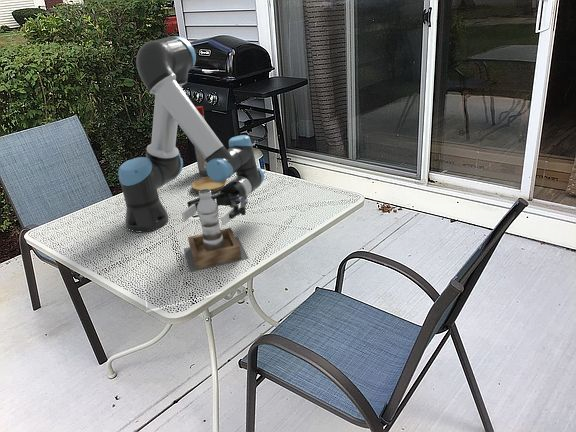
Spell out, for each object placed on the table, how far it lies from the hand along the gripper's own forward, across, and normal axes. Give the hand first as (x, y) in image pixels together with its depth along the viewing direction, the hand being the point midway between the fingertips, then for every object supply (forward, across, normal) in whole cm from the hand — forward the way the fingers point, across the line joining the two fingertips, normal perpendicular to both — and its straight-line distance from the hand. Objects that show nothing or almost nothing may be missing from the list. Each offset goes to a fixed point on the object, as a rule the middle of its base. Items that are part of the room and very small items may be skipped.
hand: (202, 219), depth 147 cm
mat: (-3, 0, -14) cm, 14 cm away
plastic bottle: (-3, 0, -13) cm, 13 cm away
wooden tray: (-3, 0, -14) cm, 14 cm away
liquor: (-69, +41, -14) cm, 82 cm away
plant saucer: (-53, +31, -14) cm, 63 cm away
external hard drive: (-69, +20, -15) cm, 73 cm away
